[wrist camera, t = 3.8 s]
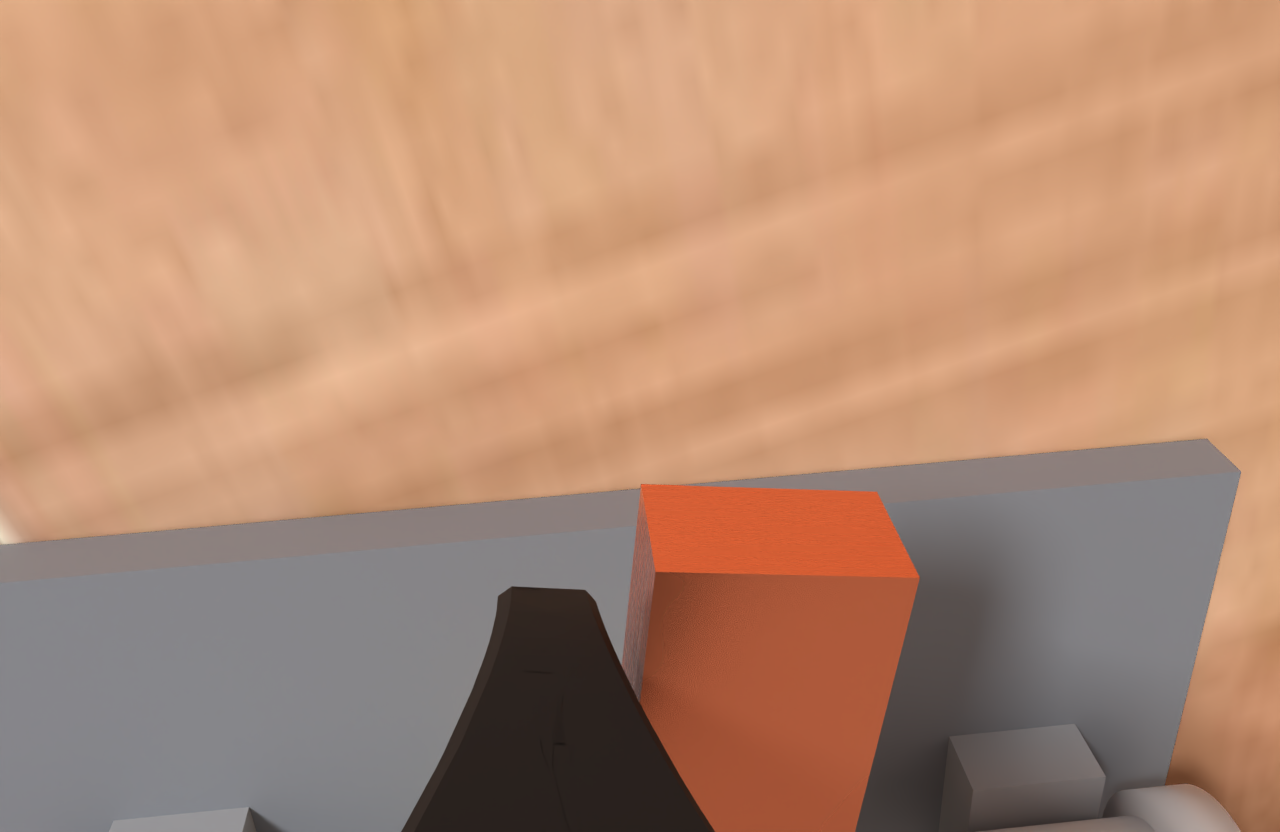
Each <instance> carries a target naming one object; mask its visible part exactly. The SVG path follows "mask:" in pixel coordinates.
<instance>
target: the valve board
mask: <svg viewBox="0 0 1280 832" xmlns="http://www.w3.org/2000/svg"><path fill="white" fill-rule="evenodd" d="M1240 474H1241V471H1240V470H1239V469H1238V468H1237V467H1236V466H1235V465H1234V464H1233V463H1232V462H1231V461H1229V460H1228V459H1227V458H1226V457H1225V456H1224V455H1223V454H1222V453H1221V452H1220V451H1219V450H1218V449H1217V448H1216V447H1215V446H1214V445H1213V444H1212V443H1211V442H1210V441H1208V440H1207V439H1199V440H1188V441H1177V442H1165V443H1154V444H1142V445H1131V446H1120V447H1108V448H1097V449H1086V450H1074V451H1063V452H1052V453H1040V454H1029V455H1018V456H1006V457H995V458H984V459H972V460H961V461H950V462H938V463H927V464H915V465H904V466H893V467H881V468H870V469H859V470H847V471H836V472H825V473H813V474H802V475H791V476H779V477H768V478H757V479H745V480H734V481H722V482H711V483H700V484H688V485H682V486H713V487H745V488H776V489H808V490H839V491H870V492H877V493H878V495H879V497H880V499H881V501H882V503H883V505H884V507H885V509H886V511H887V513H888V515H889V517H890V519H891V521H892V523H893V525H894V527H895V529H896V531H897V533H898V535H899V537H900V539H901V541H902V543H903V545H904V547H905V549H906V551H907V553H908V555H909V557H910V559H911V561H912V563H913V565H914V567H915V569H916V571H917V573H918V575H919V577H920V580H919V583H918V587H917V591H916V595H915V599H914V603H913V607H912V611H911V615H910V619H909V622H908V626H907V630H906V634H905V638H904V642H903V646H902V650H901V654H900V658H899V662H898V665H897V669H896V673H895V677H894V681H893V685H892V689H891V693H890V697H889V701H888V705H887V708H886V712H885V716H884V720H883V724H882V728H881V732H880V736H879V740H878V744H877V748H876V751H875V755H874V759H873V763H872V767H871V771H870V775H869V779H868V783H867V787H866V791H865V794H864V798H863V802H862V806H861V810H860V814H859V818H858V822H857V826H856V830H855V832H1241V831H1240V829H1239V828H1238V826H1237V824H1236V823H1235V821H1234V820H1233V819H1232V817H1231V816H1230V815H1229V813H1228V812H1227V811H1226V810H1225V808H1224V807H1223V806H1222V805H1221V804H1220V803H1219V802H1218V801H1217V800H1216V799H1215V798H1214V797H1213V796H1212V795H1210V794H1209V793H1208V792H1206V791H1205V790H1203V789H1202V788H1199V787H1197V786H1195V785H1191V784H1176V785H1167V786H1165V782H1166V778H1167V774H1168V769H1169V765H1170V761H1171V757H1172V753H1173V749H1174V745H1175V741H1176V737H1177V733H1178V728H1179V724H1180V720H1181V716H1182V712H1183V708H1184V704H1185V700H1186V696H1187V692H1188V687H1189V683H1190V679H1191V675H1192V671H1193V667H1194V663H1195V659H1196V655H1197V651H1198V646H1199V642H1200V638H1201V634H1202V630H1203V626H1204V622H1205V618H1206V614H1207V609H1208V605H1209V601H1210V597H1211V593H1212V589H1213V585H1214V581H1215V577H1216V573H1217V568H1218V564H1219V560H1220V556H1221V552H1222V548H1223V544H1224V540H1225V536H1226V532H1227V527H1228V523H1229V519H1230V515H1231V511H1232V507H1233V503H1234V499H1235V495H1236V491H1237V486H1238V482H1239V478H1240ZM640 490H641V489H632V490H620V491H609V492H598V493H586V494H575V495H564V496H552V497H541V498H529V499H518V500H507V501H495V502H484V503H473V504H461V505H450V506H439V507H427V508H416V509H405V510H393V511H382V512H371V513H359V514H348V515H337V516H325V517H314V518H302V519H291V520H280V521H268V522H257V523H246V524H234V525H223V526H212V527H200V528H189V529H178V530H166V531H155V532H144V533H132V534H121V535H109V536H98V537H87V538H75V539H64V540H53V541H41V542H30V543H19V544H7V545H0V832H401V831H402V829H403V827H404V826H405V824H406V822H407V820H408V818H409V816H410V815H411V813H412V811H413V809H414V807H415V805H416V804H417V802H418V800H419V798H420V796H421V795H422V793H423V791H424V789H425V787H426V785H427V784H428V782H429V780H430V778H431V776H432V774H433V773H434V771H435V769H436V767H437V765H438V763H439V761H440V759H441V757H442V755H443V753H444V751H445V749H446V747H447V744H448V742H449V740H450V738H451V736H452V733H453V731H454V729H455V727H456V724H457V722H458V720H459V718H460V716H461V713H462V711H463V709H464V707H465V705H466V702H467V700H468V698H469V696H470V693H471V691H472V689H473V686H474V683H475V681H476V678H477V675H478V673H479V670H480V667H481V665H482V662H483V659H484V656H485V653H486V650H487V647H488V644H489V641H490V637H491V634H492V630H493V625H494V621H495V617H496V611H497V600H498V596H499V595H500V594H502V593H503V592H504V591H506V590H507V589H509V588H510V587H511V586H517V587H538V588H559V589H580V590H586V591H587V592H588V593H589V594H590V595H591V596H592V598H593V599H594V600H595V601H596V603H597V606H598V609H599V612H600V615H601V618H602V620H603V623H604V626H605V628H606V631H607V633H608V636H609V638H610V641H611V643H612V645H613V648H614V650H615V652H616V654H617V657H618V659H619V661H620V663H621V665H622V657H623V648H624V639H625V629H626V620H627V611H628V602H629V592H630V583H631V574H632V564H633V555H634V546H635V537H636V527H637V518H638V509H639V499H640Z"/></svg>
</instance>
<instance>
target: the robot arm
mask: <svg viewBox="0 0 1280 832" xmlns="http://www.w3.org/2000/svg"><path fill="white" fill-rule="evenodd" d="M401 832H715V831H714V829H713V828H712V826H711V825H710V823H709V821H708V820H707V818H706V817H705V815H704V814H703V812H702V811H701V809H700V808H699V806H698V804H697V803H696V801H695V799H694V798H693V796H692V795H691V793H690V791H689V790H688V788H687V786H686V785H685V783H684V781H683V780H682V778H681V776H680V775H679V773H678V771H677V769H676V768H675V766H674V764H673V762H672V761H671V759H670V757H669V755H668V753H667V752H666V750H665V748H664V746H663V745H662V743H661V741H660V739H659V737H658V736H657V734H656V732H655V730H654V729H653V727H652V725H651V723H650V721H649V720H648V718H647V716H646V714H645V712H644V710H643V708H642V706H641V704H640V702H639V700H638V698H637V696H636V694H635V692H634V690H633V688H632V686H631V684H630V682H629V680H628V678H627V676H626V674H625V672H624V670H623V668H622V665H621V663H620V661H619V659H618V657H617V654H616V652H615V650H614V648H613V645H612V643H611V641H610V638H609V636H608V633H607V631H606V628H605V626H604V623H603V620H602V618H601V615H600V612H599V609H598V606H597V603H596V601H595V600H594V599H593V598H592V596H591V595H590V594H589V593H588V592H587V591H586V590H580V589H559V588H538V587H517V586H511V587H510V588H509V589H507V590H506V591H504V592H503V593H502V594H500V595H499V596H498V600H497V611H496V617H495V621H494V625H493V630H492V634H491V637H490V641H489V644H488V647H487V650H486V653H485V656H484V659H483V662H482V665H481V667H480V670H479V673H478V675H477V678H476V681H475V683H474V686H473V689H472V691H471V693H470V696H469V698H468V700H467V702H466V705H465V707H464V709H463V711H462V713H461V716H460V718H459V720H458V722H457V724H456V727H455V729H454V731H453V733H452V736H451V738H450V740H449V742H448V744H447V747H446V749H445V751H444V753H443V755H442V757H441V759H440V761H439V763H438V765H437V767H436V769H435V771H434V773H433V774H432V776H431V778H430V780H429V782H428V784H427V785H426V787H425V789H424V791H423V793H422V795H421V796H420V798H419V800H418V802H417V804H416V805H415V807H414V809H413V811H412V813H411V815H410V816H409V818H408V820H407V822H406V824H405V826H404V827H403V829H402V831H401Z"/></svg>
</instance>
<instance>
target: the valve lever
mask: <svg viewBox="0 0 1280 832" xmlns="http://www.w3.org/2000/svg"><path fill="white" fill-rule="evenodd" d="M919 580H920V577H919V575H918V573H917V571H916V569H915V567H914V565H913V563H912V561H911V559H910V557H909V555H908V553H907V551H906V549H905V547H904V545H903V543H902V541H901V539H900V537H899V535H898V533H897V531H896V529H895V527H894V525H893V523H892V521H891V519H890V517H889V515H888V513H887V511H886V509H885V507H884V505H883V503H882V501H881V499H880V497H879V495H878V493H877V492H870V491H839V490H808V489H776V488H745V487H713V486H682V485H650V484H641V490H640V499H639V509H638V518H637V527H636V537H635V546H634V555H633V564H632V574H631V583H630V592H629V602H628V611H627V620H626V629H625V639H624V648H623V657H622V668H623V670H624V672H625V674H626V676H627V678H628V680H629V682H630V684H631V686H632V688H633V690H634V692H635V694H636V696H637V698H638V700H639V702H640V704H641V706H642V708H643V710H644V712H645V714H646V716H647V718H648V720H649V721H650V723H651V725H652V727H653V729H654V730H655V732H656V734H657V736H658V737H659V739H660V741H661V743H662V745H663V746H664V748H665V750H666V752H667V753H668V755H669V757H670V759H671V761H672V762H673V764H674V766H675V768H676V769H677V771H678V773H679V775H680V776H681V778H682V780H683V781H684V783H685V785H686V786H687V788H688V790H689V791H690V793H691V795H692V796H693V798H694V799H695V801H696V803H697V804H698V806H699V808H700V809H701V811H702V812H703V814H704V815H705V817H706V818H707V820H708V821H709V823H710V825H711V826H712V828H713V829H714V831H715V832H855V830H856V826H857V822H858V818H859V814H860V810H861V806H862V802H863V798H864V794H865V791H866V787H867V783H868V779H869V775H870V771H871V767H872V763H873V759H874V755H875V751H876V748H877V744H878V740H879V736H880V732H881V728H882V724H883V720H884V716H885V712H886V708H887V705H888V701H889V697H890V693H891V689H892V685H893V681H894V677H895V673H896V669H897V665H898V662H899V658H900V654H901V650H902V646H903V642H904V638H905V634H906V630H907V626H908V622H909V619H910V615H911V611H912V607H913V603H914V599H915V595H916V591H917V587H918V583H919Z"/></svg>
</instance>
